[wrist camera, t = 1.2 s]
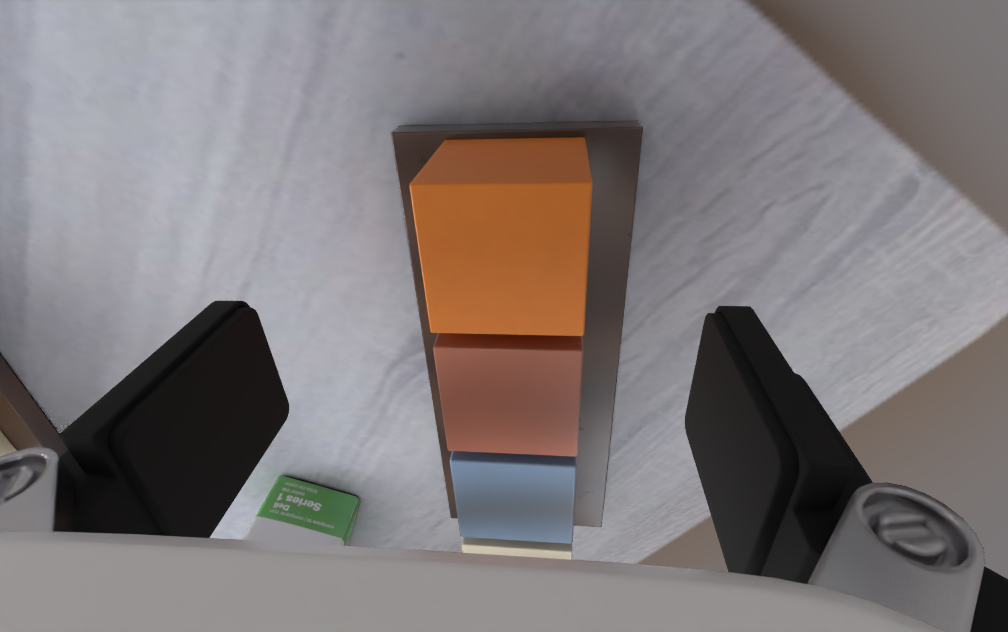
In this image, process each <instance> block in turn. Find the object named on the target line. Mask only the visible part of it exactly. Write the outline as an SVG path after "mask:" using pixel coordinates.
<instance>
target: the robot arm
mask: <svg viewBox="0 0 1008 632" xmlns="http://www.w3.org/2000/svg"><path fill="white" fill-rule="evenodd" d="M288 414H289V403H288V400H287V397H286V394H285V391H284V388H283V385H282V382H281V379H280V377H279V374H278V371H277V368H276V365H275V362H274V359H273V356H272V353H271V351H270V348H269V345H268V342H267V339H266V336H265V333H264V330H263V328H262V325H261V322H260V319H259V316H258V314H257V312H256V310H255V309H253V308H250V306H249V305H248V304H247V303H246V302H244V301H214V302H213V303H211V304H210V305H209V306H208V307H206V308H205V309H204V310H203V311H202V312H201V313H199V314H198V315H197V316H196V317H195V318H194V319H192V320H191V321H190V322H189V323H188V324H187V325H185V326H184V327H183V328H182V329H181V330H180V331H179V332H177V333H176V334H175V335H174V336H173V337H172V338H170V339H169V340H168V341H167V342H166V343H165V344H163V345H162V346H161V347H160V348H159V349H158V350H156V351H155V352H154V353H153V354H152V355H151V356H150V357H148V358H147V359H146V360H145V361H144V362H143V363H141V364H140V365H139V366H138V367H137V368H136V369H134V370H133V371H132V372H131V373H130V374H129V375H128V376H126V377H125V378H124V379H123V380H122V381H121V382H119V383H118V384H117V385H116V386H115V387H114V388H112V389H111V390H110V391H109V392H108V393H107V394H105V395H104V396H103V397H102V398H101V399H100V400H99V401H97V402H96V403H95V404H94V405H93V406H92V407H90V408H89V409H88V410H87V411H86V412H85V413H83V414H82V415H81V416H80V417H79V418H78V419H76V420H75V421H74V422H73V423H72V424H71V425H70V426H68V427H67V428H66V429H65V430H64V431H63V432H61V433H60V434H59V435H58V436H59V437H60V438H61V440H62V441H63V443H64V444H65V446H66V447H67V449H68V450H67V451H66V452H65V453H64V454H63V455H62V456H61V457H59V456H58V454H57V453H56V452H54V451H53V450H51V449H50V448H42V447H35V448H27V449H22V450H18V451H15V452H11V453H8V454H5V455H3V456H0V632H1008V579H1006V578H1004V577H1003V576H1001V575H999V574H997V573H995V572H994V571H992V570H990V569H988V568H986V567H985V566H984V565H985V555H984V548H983V546H982V544H981V542H980V540H979V538H978V536H977V534H976V533H975V532H974V530H973V529H972V528H971V527H970V526H969V525H968V524H967V523H966V521H965V520H964V519H963V518H962V517H961V516H959V515H958V514H957V513H955V512H954V511H953V510H952V509H950V508H949V507H948V506H946V505H945V504H943V503H941V502H940V501H938V500H936V499H934V498H932V497H931V496H929V495H927V494H925V493H922V492H919V491H917V490H914V489H912V488H909V487H906V486H902V485H897V484H891V483H873V482H872V481H871V479H870V478H869V476H868V475H867V473H866V471H865V470H864V468H863V467H862V465H861V464H860V462H859V461H858V460H857V458H856V457H855V455H854V453H853V452H852V451H851V449H850V447H849V446H848V444H847V443H846V441H845V440H844V438H843V437H842V435H841V434H840V432H839V431H838V429H837V428H836V426H835V425H834V423H833V422H832V420H831V419H830V417H829V416H828V414H827V413H826V411H825V410H824V408H823V407H822V405H821V404H820V402H819V401H818V399H817V398H816V396H815V395H814V393H813V392H812V390H811V389H810V387H809V386H808V384H807V383H806V381H805V380H804V379H803V378H802V377H801V376H800V375H798V374H795V373H794V372H793V371H792V369H791V367H790V366H789V364H788V363H787V361H786V360H785V358H784V357H783V355H782V354H781V352H780V351H779V349H778V347H777V346H776V344H775V343H774V341H773V340H772V338H771V337H770V335H769V334H768V332H767V330H766V329H765V327H764V326H763V324H762V323H761V321H760V320H759V318H758V317H757V315H756V313H755V312H754V310H753V309H752V308H751V307H748V306H719V307H718V308H717V309H716V311H715V313H708V314H707V315H706V317H705V321H704V325H703V330H702V335H701V340H700V345H699V350H698V355H697V360H696V365H695V370H694V375H693V380H692V385H691V390H690V395H689V400H688V405H687V410H686V415H685V428H686V434H687V437H688V440H689V444H690V447H691V450H692V454H693V457H694V460H695V463H696V467H697V470H698V473H699V477H700V480H701V483H702V486H703V490H704V493H705V496H706V500H707V503H708V506H709V509H710V513H711V516H712V519H713V522H714V526H715V529H716V532H717V535H718V539H719V542H720V545H721V549H722V552H723V555H724V559H725V562H726V565H727V568H728V572H723V571H713V570H700V569H688V568H676V567H664V566H650V565H639V564H626V563H614V562H599V561H583V560H568V559H552V558H537V557H521V556H506V555H490V554H475V553H459V552H443V551H426V550H409V549H393V548H376V547H359V546H342V545H324V544H307V543H290V542H272V541H253V540H234V539H216V538H210V536H211V534H212V533H213V531H214V530H215V528H216V527H217V525H218V524H219V522H220V521H221V519H222V518H223V516H224V515H225V513H226V511H227V510H228V508H229V507H230V505H231V504H232V502H233V501H234V499H235V498H236V496H237V495H238V493H239V492H240V490H241V488H242V487H243V485H244V484H245V482H246V481H247V479H248V478H249V476H250V475H251V473H252V472H253V470H254V468H255V467H256V465H257V464H258V462H259V461H260V459H261V458H262V456H263V455H264V453H265V452H266V450H267V449H268V447H269V445H270V444H271V442H272V441H273V439H274V438H275V436H276V435H277V433H278V432H279V430H280V429H281V427H282V426H283V424H284V422H285V421H286V419H287V417H288Z"/></svg>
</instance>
